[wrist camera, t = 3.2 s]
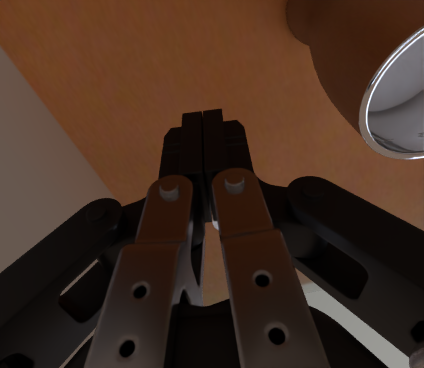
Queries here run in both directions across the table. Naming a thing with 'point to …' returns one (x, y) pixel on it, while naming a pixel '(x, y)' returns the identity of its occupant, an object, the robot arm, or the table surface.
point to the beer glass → (369, 66)
